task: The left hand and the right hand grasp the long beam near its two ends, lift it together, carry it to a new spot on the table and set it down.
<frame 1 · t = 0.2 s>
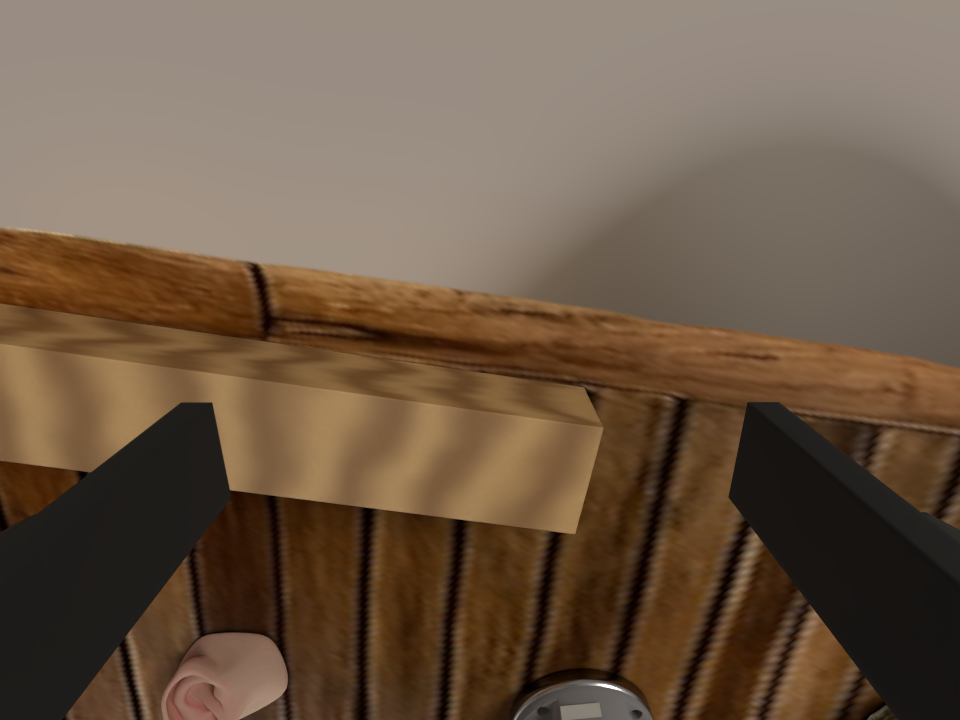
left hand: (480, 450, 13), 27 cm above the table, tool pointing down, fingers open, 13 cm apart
anatomical model: (231, 673, 53), on the table
long beam: (146, 376, 42), on the table
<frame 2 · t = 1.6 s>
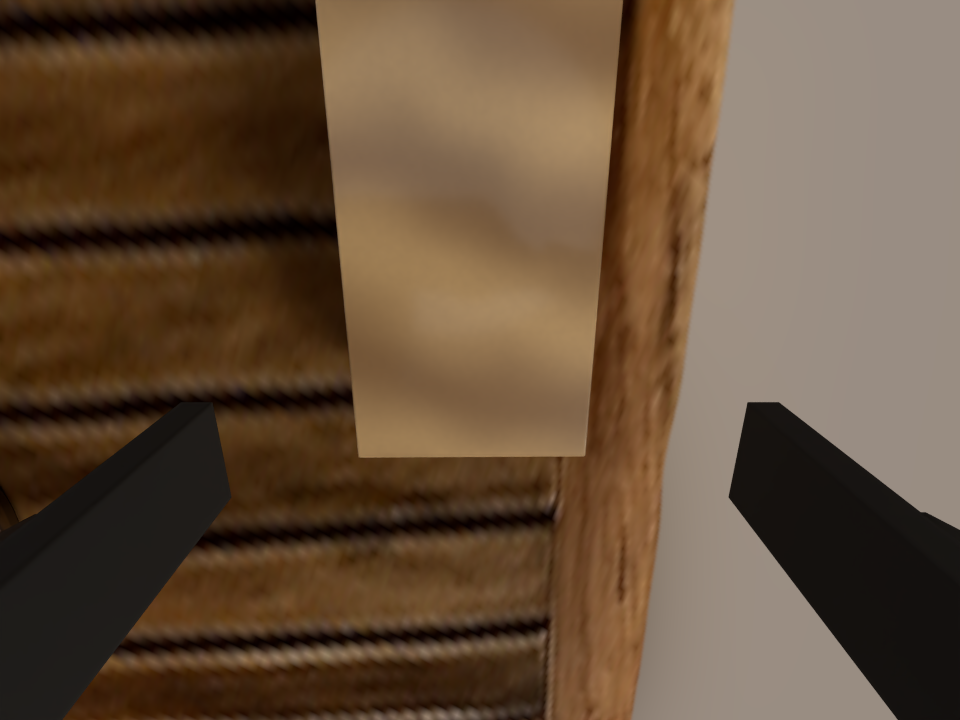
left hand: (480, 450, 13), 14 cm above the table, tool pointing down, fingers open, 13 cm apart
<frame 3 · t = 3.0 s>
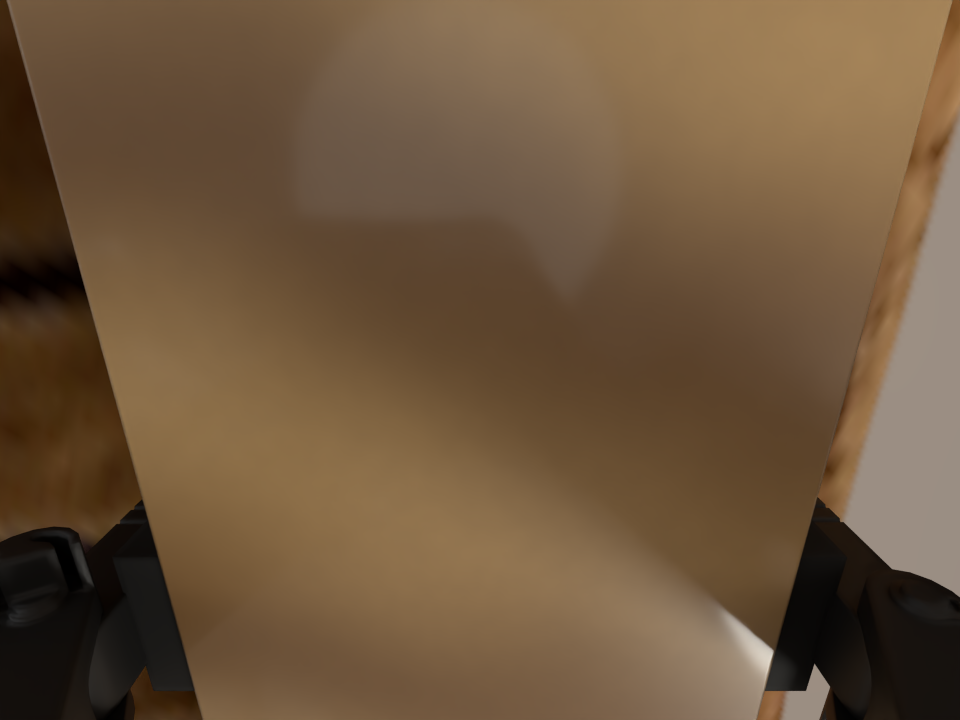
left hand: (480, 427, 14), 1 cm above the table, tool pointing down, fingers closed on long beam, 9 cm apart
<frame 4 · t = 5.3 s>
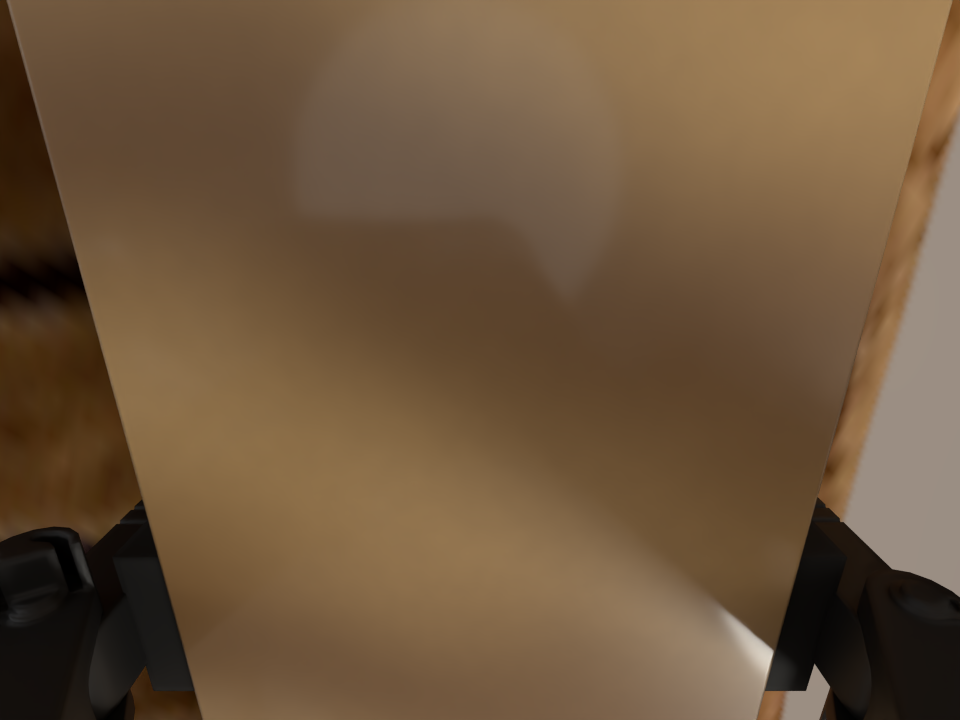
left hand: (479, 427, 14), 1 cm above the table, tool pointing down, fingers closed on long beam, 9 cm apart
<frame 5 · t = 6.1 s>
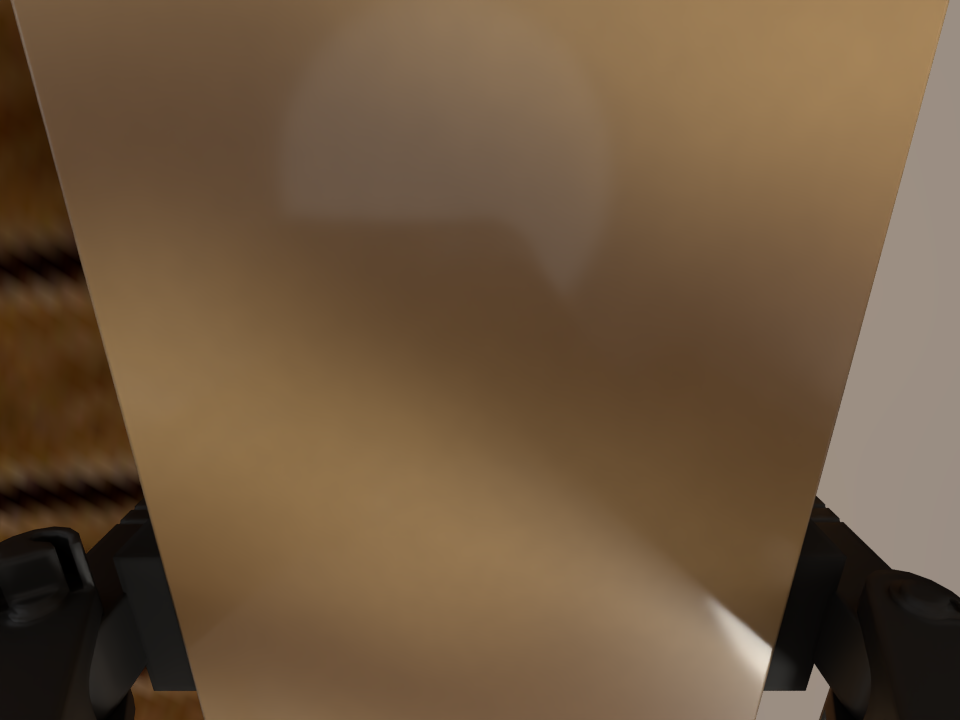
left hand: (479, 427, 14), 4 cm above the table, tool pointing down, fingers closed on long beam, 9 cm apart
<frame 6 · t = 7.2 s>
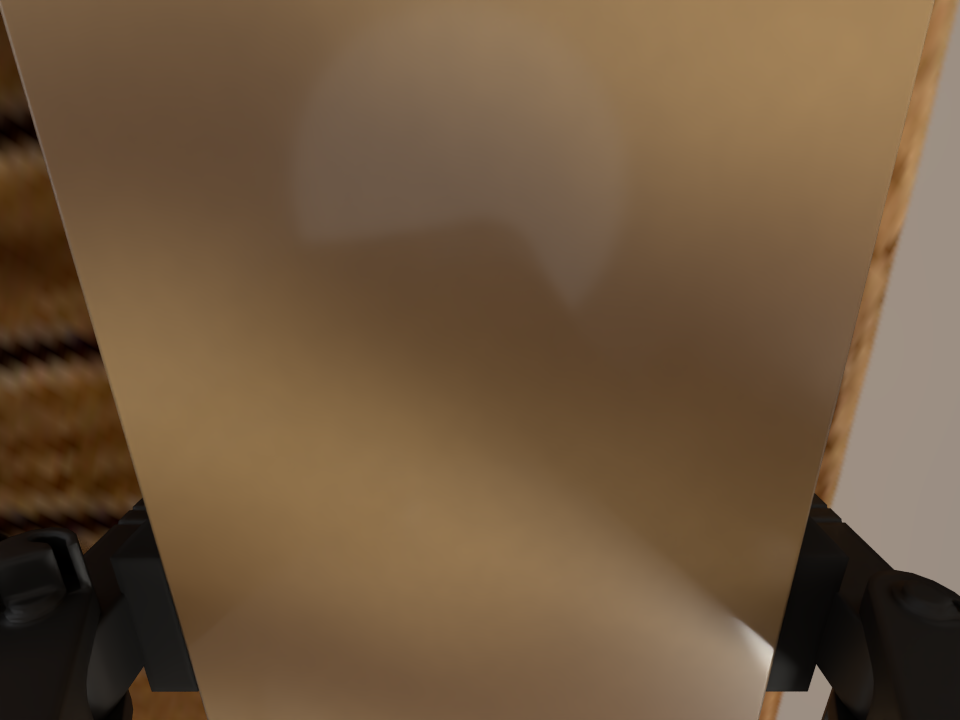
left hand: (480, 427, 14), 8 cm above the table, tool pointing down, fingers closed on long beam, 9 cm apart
when the left hand's fingers open (2 cm above the table, at t = 9.6 s): long beam stays where it is, on the table.
when the right hand's fingers open (1 cm above the table, at t = 9.6 s): long beam stays where it is, on the table.
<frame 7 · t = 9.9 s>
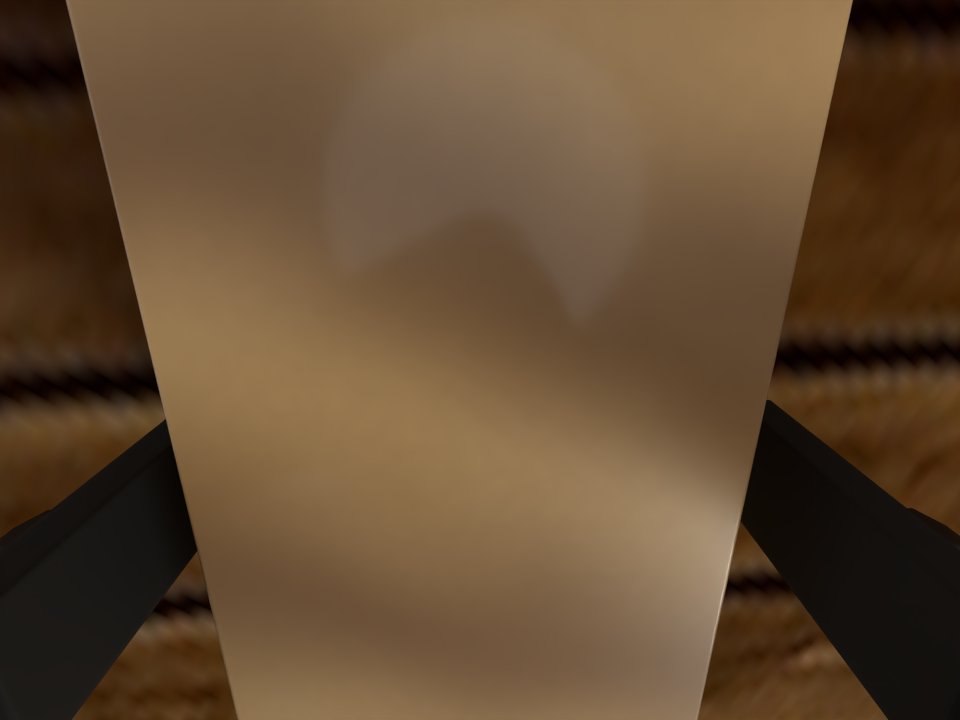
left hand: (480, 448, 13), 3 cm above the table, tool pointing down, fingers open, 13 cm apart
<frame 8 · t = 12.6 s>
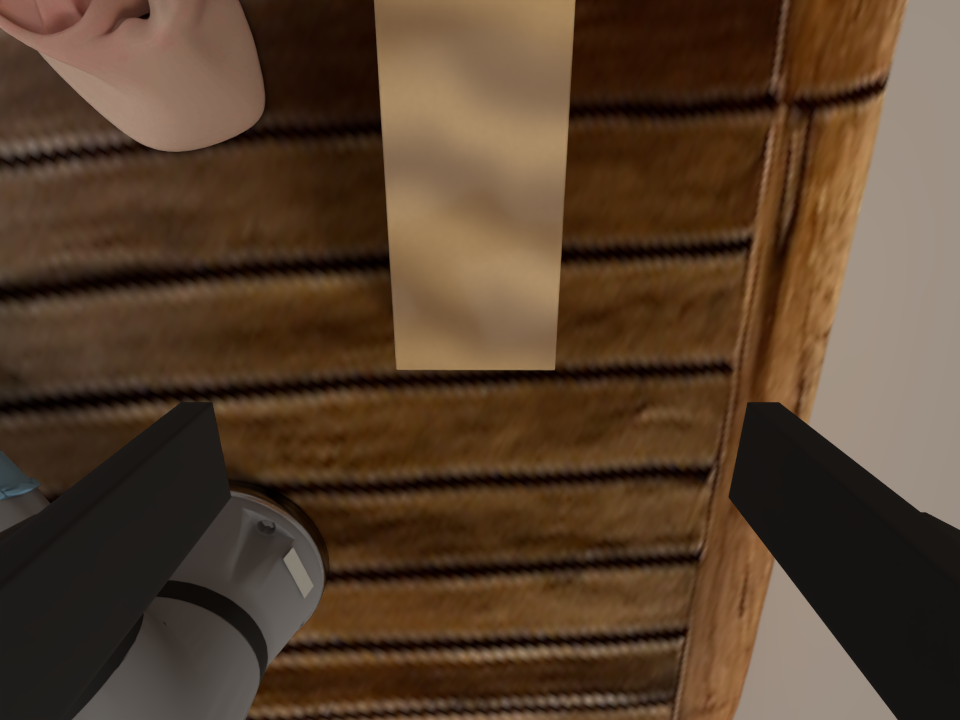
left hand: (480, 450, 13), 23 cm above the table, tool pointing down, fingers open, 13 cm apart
anatomical model: (152, 42, 30), on the table
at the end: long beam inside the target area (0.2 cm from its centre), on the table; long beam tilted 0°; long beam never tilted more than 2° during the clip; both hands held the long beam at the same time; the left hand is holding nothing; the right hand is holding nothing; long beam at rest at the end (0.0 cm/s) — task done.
